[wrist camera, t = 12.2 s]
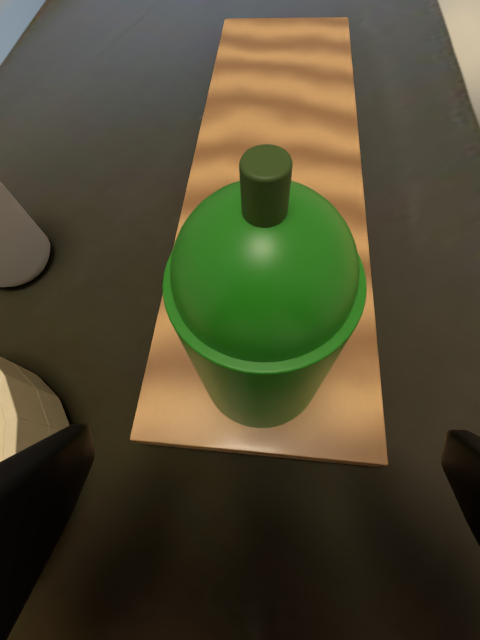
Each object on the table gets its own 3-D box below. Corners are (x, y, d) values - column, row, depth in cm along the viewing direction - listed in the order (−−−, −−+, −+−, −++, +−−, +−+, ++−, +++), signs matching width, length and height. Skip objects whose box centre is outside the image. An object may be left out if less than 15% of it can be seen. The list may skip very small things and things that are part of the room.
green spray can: (327, 423, 16) (486, 278, 5) (205, 433, 16) (89, 311, 5) (308, 314, 19) (382, 59, 7) (203, 323, 19) (122, 83, 8)
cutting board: (378, 467, 16) (388, 465, 15) (139, 443, 17) (129, 439, 16) (344, 35, 34) (348, 17, 33) (226, 36, 35) (225, 18, 34)
